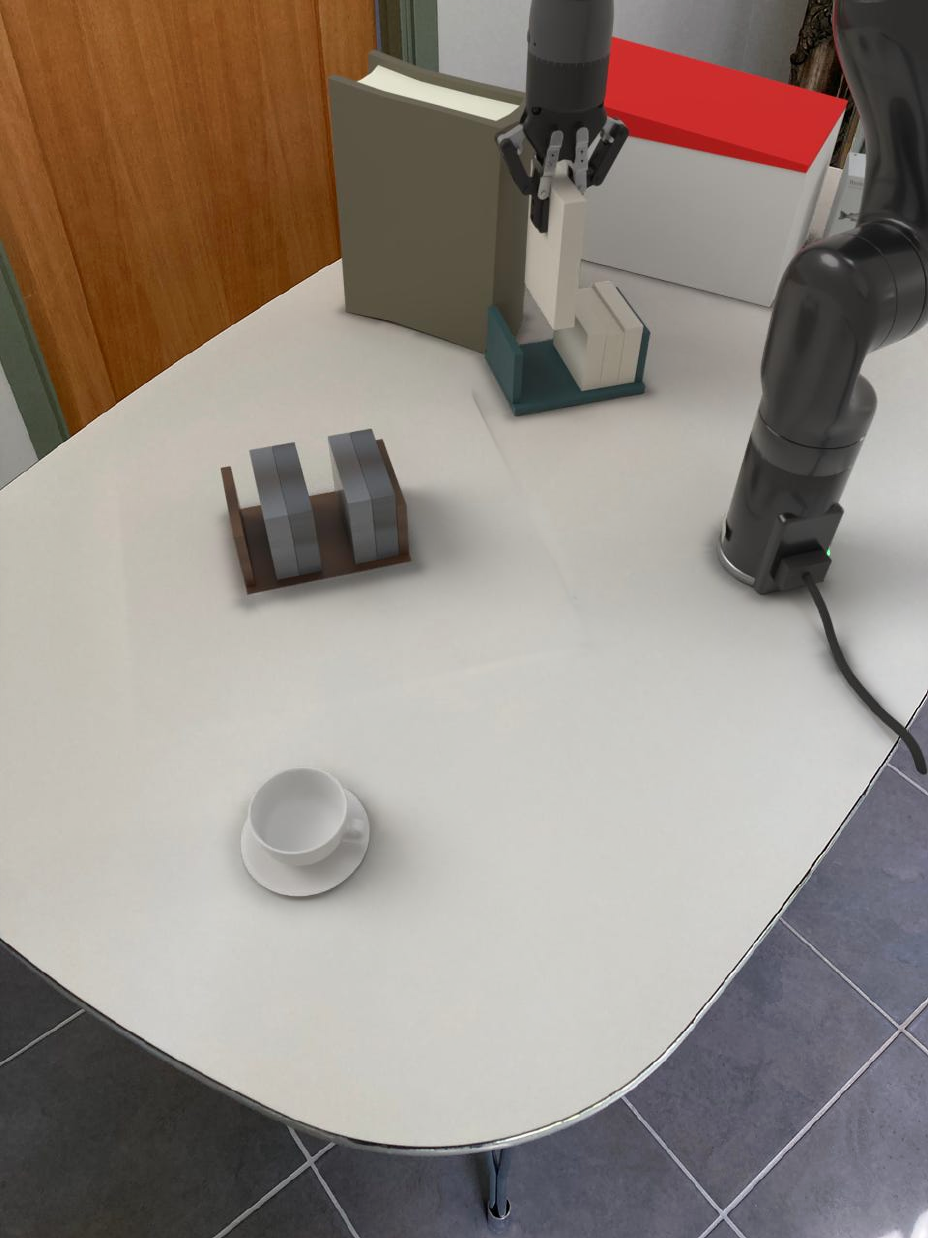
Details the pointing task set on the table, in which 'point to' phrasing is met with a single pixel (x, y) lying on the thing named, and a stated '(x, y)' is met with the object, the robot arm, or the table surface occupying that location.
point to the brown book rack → (319, 515)
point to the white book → (557, 252)
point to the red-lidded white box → (708, 173)
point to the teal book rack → (572, 355)
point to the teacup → (303, 832)
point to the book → (429, 200)
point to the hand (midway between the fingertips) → (555, 226)
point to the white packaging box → (847, 196)
